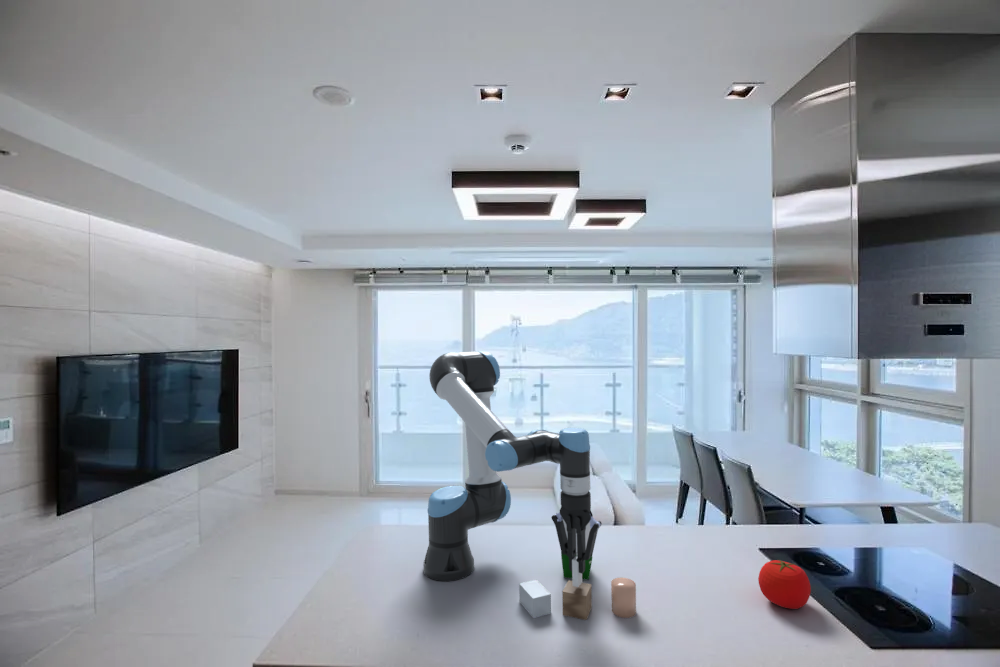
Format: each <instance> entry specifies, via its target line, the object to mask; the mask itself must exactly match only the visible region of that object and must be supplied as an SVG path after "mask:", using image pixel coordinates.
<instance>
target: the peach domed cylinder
mask: <svg viewBox="0 0 1000 667" xmlns="http://www.w3.org/2000/svg"><path fill="white" fill-rule="evenodd" d="M610 582H611V584H610V585H611V588H610V590H611V593H610V594H611V613H613V615H615V616H616V617H618V618H624V619H631V618H634V617H635V616H636V614H637V587H636V586H637V585H636V582H635V581H634V580H633V579H630V578H629V577H628V578H627V577H615V578H613V579H611V581H610ZM630 617H631V618H630Z"/></svg>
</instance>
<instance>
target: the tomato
mask: <svg viewBox="0 0 1000 667" xmlns="http://www.w3.org/2000/svg"><path fill="white" fill-rule="evenodd" d="M757 580H758V586H759V588H760V591H761V593H762V595H763V596H764V597H765V598H766V599H767V600H768V601H770V602H771V603H773V604H774V605H777V606H780V607H781V608H785V609H791V610H795V609H797V610H798V609H800V608H803V607H804V606H805V605H806V604H807V603H808V601H809V598H810V596H811V592H812V586H811V583H810V579H809V577H808V575H807V573H806V571H805V570H804V569H803V568H801V567H800V566H798V565H797V564H795V563H791V562H787V561H783V560H781V559H777V560H775V559H774V560H770V561H767V562H766V563H764V564H763V566H762V567H761V568H760V571H759V573H758V579H757Z"/></svg>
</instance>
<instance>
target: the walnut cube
mask: <svg viewBox="0 0 1000 667" xmlns="http://www.w3.org/2000/svg"><path fill="white" fill-rule="evenodd" d="M592 597H593V596H592V583H587V582H582V583H581V585H580V586H579V587H575V586H573V583H572V580H570V579H568V581H567V582H566V583H565V585H564V588H563V590H562V616H565V617H569V618H575V619H580V620H584V621H587V620H588V618H589V615H590V612H591V610H592V608H593V606H592V604H593V601H592V599H593V598H592Z"/></svg>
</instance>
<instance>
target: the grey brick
mask: <svg viewBox="0 0 1000 667" xmlns="http://www.w3.org/2000/svg"><path fill="white" fill-rule="evenodd" d="M518 585H519V586H518V587H519V589H518V590H519V603H520V604H521V605H522V606H523V608H524V609H525V610H526V611H527V612H528V614H529V615H530V616H531V617H532V618H533V619H535V618H539V617H543V616H547V615H550V614H552V595H551V594H552V593H551V592H550V591H548V589H546V587H545V586H543V585H542V584H541V583H540V581H538V580H537V579H532V580H529V581H524V582H521V583H518Z"/></svg>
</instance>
